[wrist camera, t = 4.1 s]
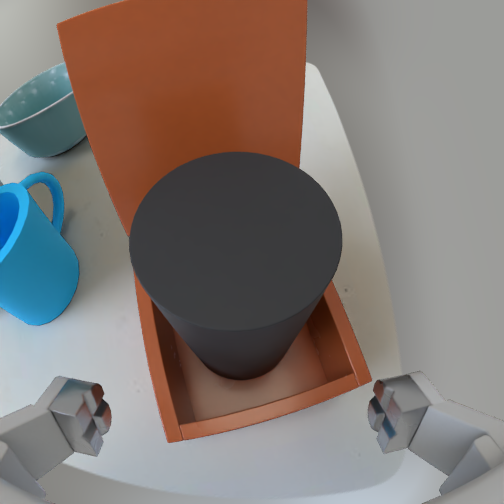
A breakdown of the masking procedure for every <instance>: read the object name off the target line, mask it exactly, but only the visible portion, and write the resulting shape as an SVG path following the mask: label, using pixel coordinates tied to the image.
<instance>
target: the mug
mask: <svg viewBox="0 0 504 504" xmlns="http://www.w3.org/2000/svg"><path fill="white" fill-rule="evenodd" d="M39 182H41V183H45V184H46V185H47V186H48V187H49V189H50V192H51V194H52V198H53V220H52V223H51V222H50V221H49V220H48V218H47V217H46V216H45V214H44V213H43V212H42V210H41V209H40V208H39V206H38V205H37V204H36V202H35V201H34V199H33V198H32V197H31V195H30V194H29V192H28V191H27V189H28V188H29V187H31V186H32V185H33V184H35V183H39ZM63 218H64V198H63V191H62V189H61V186H60V184H59V182H58V180H57V179H56V178H55V177H54V176H53V175H52V174H48V173H45V172H39V173H35V174H31V175H29V176H28V177H26V178H25V179H24V180H22V181H21V182H20V183H19V184H17V183H10V184H6V185H2V186H0V307H1V308H3V309H4V310H6V311H7V312H9V313H11V314H12V315H14V316H15V317H17V318H19V319H20V320H22V321H24V322H25V323H27V324H30V325H42V324H45V323H48V322H51V321H52V320H53V319H55V318H56V317H57V316H59V315H60V314H61V313H62V312H63V311H64V309H65V308H66V307H67V306H68V304H69V303H70V301H71V299H72V297H73V295H74V293H75V290H76V288H77V283H78V278H79V264H78V259H77V257H76V255H75V252H74V251H73V249H72V248H71V247H70V246H69V245H68V243H67V242H66V241H65V240H64V238H63V237H62V236H61V235H60V232H61V228H62V223H63Z"/></svg>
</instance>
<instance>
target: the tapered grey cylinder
mask: <svg viewBox="0 0 504 504" xmlns="http://www.w3.org/2000/svg"><path fill="white" fill-rule="evenodd" d="M129 251H130V257H131V263H132V266H133V269H134V272H135V274H136V276H137V278H138V280H139V282H140V284H141V286H142V287H143V289H144V290H145V291H146V293H147V294H148V295H149V297H150V298H151V299H152V301H153V302H154V303H155V305H156V306H157V307H158V309H159V310H160V311H161V312H162V314H163V315H164V316H165V318H166V319H167V320H168V321H169V323H170V324H171V325H172V326H173V328H174V329H175V330H176V331H177V333H178V334H179V335H180V336H181V338H182V339H183V340H184V341H185V342H186V344H187V345H188V346H189V347H190V348H191V350H192V351H193V352H194V353H195V354H196V356H197V357H198V358H199V359H200V360H201V361H202V362H203V364H204V365H205V366H206V367H207V368H209V369H210V370H211V371H212V372H214V373H216V374H217V375H220V376H222V377H225V378H228V379H233V380H250V379H254V378H257V377H260V376H262V375H264V374H266V373H268V372H269V371H271V370H272V369H273V368H275V367H276V366H277V365H278V363H279V362H280V361H281V360H282V358H283V357H284V355H285V354H286V352H287V351H288V349H289V348H290V346H291V345H292V343H293V342H294V340H295V339H296V337H297V336H298V334H299V332H300V331H301V329H302V328H303V326H304V325H305V323H306V321H307V320H308V318H309V317H310V315H311V313H312V312H313V310H314V308H315V307H316V305H317V304H318V302H319V300H320V299H321V297H322V295H323V294H324V292H325V290H326V289H327V287H328V285H329V283H330V282H331V280H332V278H333V276H334V274H335V272H336V270H337V267H338V264H339V261H340V257H341V251H342V230H341V224H340V220H339V217H338V214H337V211H336V209H335V207H334V205H333V203H332V201H331V199H330V198H329V196H328V195H327V193H326V192H325V191H324V190H323V188H322V187H321V186H320V185H319V184H318V183H317V182H316V181H315V180H314V179H313V178H312V177H311V176H309V175H308V174H307V173H305V172H304V171H302V170H301V169H299V168H297V167H296V166H294V165H292V164H290V163H288V162H286V161H283V160H281V159H278V158H275V157H272V156H268V155H264V154H259V153H252V152H223V153H216V154H211V155H207V156H203V157H200V158H197V159H194V160H191V161H189V162H187V163H185V164H183V165H181V166H179V167H177V168H175V169H174V170H172V171H170V172H169V173H168V174H166V175H165V176H164V177H162V178H161V179H160V180H159V181H158V182H157V183H156V184H155V185H154V186H153V187H152V188H151V189H150V190H149V192H148V193H147V194H146V195H145V197H144V198H143V200H142V201H141V203H140V205H139V206H138V209H137V211H136V213H135V215H134V218H133V222H132V225H131V230H130V237H129Z"/></svg>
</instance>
